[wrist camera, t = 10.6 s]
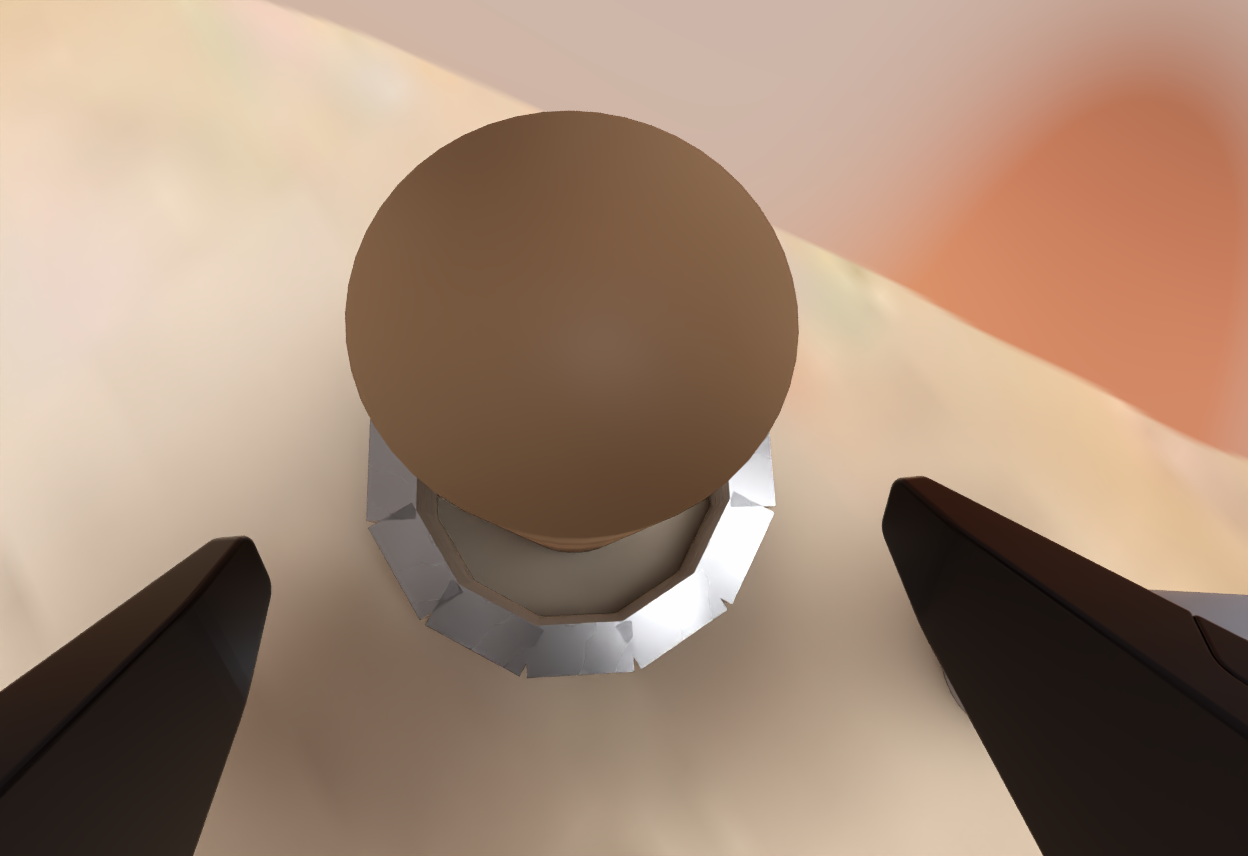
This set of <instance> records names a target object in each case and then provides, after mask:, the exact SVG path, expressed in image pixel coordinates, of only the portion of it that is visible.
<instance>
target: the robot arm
mask: <svg viewBox="0 0 1248 856" xmlns="http://www.w3.org/2000/svg"><path fill="white" fill-rule="evenodd" d="M882 531H883V536H884V539H885V541H886V544H887V546H888V549H889V551H890V554H891V556H892V558H893V561H894V563H895V566H896V568H897V571H898V573H899V576H900V578H901V581H902V583H903V586H904V588H905V591H906V593H907V595H908V598H909V600H910V603H911V605H912V608H913V610H914V613H915V615H916V617H917V619H918V622H919V624H920V626H921V628H922V630H923V632H924V634H925V636H926V638H927V640H928V642H929V644H930V646H931V648H932V650H933V651H934V653H935V655H936V657H937V659H938V661H939V663H940V664H941V666H942V668H943V670H944V672H945V674H946V676H947V678H948V679H949V681H950V683H951V685H952V687H953V689H954V691H955V692H956V694H957V696H958V698H959V700H960V702H961V704H962V705H963V707H964V709H965V711H966V713H967V715H968V717H969V718H970V720H971V722H972V724H973V726H974V728H975V730H976V732H977V733H978V735H979V737H980V739H981V741H982V743H983V745H984V746H985V748H986V750H987V752H988V754H989V756H990V758H991V759H992V761H993V763H994V765H995V767H996V769H997V771H998V772H999V774H1000V776H1001V778H1002V780H1003V782H1004V784H1005V785H1006V787H1007V789H1008V791H1009V793H1010V795H1011V797H1012V799H1013V800H1014V802H1015V804H1016V806H1017V808H1018V810H1019V812H1020V813H1021V815H1022V817H1023V819H1024V821H1025V823H1026V825H1027V826H1028V828H1029V830H1030V832H1031V834H1032V836H1033V838H1034V839H1035V841H1036V843H1037V845H1038V847H1039V849H1040V851H1041V853H1042V854H1043V856H1248V640H1246V639H1244V638H1242V637H1240V636H1238V635H1236V634H1234V633H1232V632H1230V631H1228V630H1226V629H1224V628H1222V627H1220V626H1218V625H1216V624H1214V623H1213V622H1211V621H1209V620H1207V619H1205V618H1203V617H1201V616H1199V615H1194V616H1192V614H1191V612H1190V611H1189V610H1187V609H1185V608H1183V607H1181V606H1179V605H1177V604H1175V603H1173V602H1171V601H1169V600H1167V599H1165V598H1163V597H1161V596H1159V595H1157V594H1155V593H1153V592H1151V591H1149V590H1147V589H1146V588H1144V587H1142V586H1140V585H1138V584H1136V583H1134V582H1132V581H1130V580H1128V579H1126V578H1124V577H1122V576H1120V575H1118V574H1116V573H1114V572H1112V571H1110V570H1108V569H1106V568H1104V567H1102V566H1100V565H1098V564H1096V563H1094V562H1092V561H1090V560H1089V559H1087V558H1085V557H1083V556H1081V555H1079V554H1077V553H1075V552H1073V551H1071V550H1069V549H1067V548H1065V547H1063V546H1061V545H1059V544H1057V543H1055V542H1053V541H1051V540H1049V539H1047V538H1045V537H1043V536H1041V535H1039V534H1037V533H1035V532H1033V531H1032V530H1030V529H1028V528H1026V527H1024V526H1022V525H1020V524H1018V523H1016V522H1014V521H1012V520H1010V519H1008V518H1006V517H1004V516H1002V515H1000V514H998V513H996V512H994V511H992V510H990V509H988V508H986V507H984V506H982V505H980V504H978V503H976V502H975V501H973V500H971V499H969V498H967V497H965V496H963V495H961V494H959V493H957V492H955V491H953V490H951V489H949V488H947V487H945V486H943V485H941V484H939V483H937V482H935V481H933V480H931V479H929V478H927V477H924V476H916V477H904V478H899V479H897V480H895V481H894V483H893V484H892V487H891V490H890V494H889V498H888V501H887V505H886V509H885V512H884V516H883V520H882ZM270 598H271V582H270V578H269V575H268V573H267V571H266V569H265V566H264V564H263V562H262V560H261V557H260V555H259V553H258V551H257V548H256V546H255V544H254V542H253V541H252V540H251V539H250V538H249V537H246V536H233V537H222V538H216V539H213V540H211V541H210V542H208V543H207V544H205V545H204V546H203V547H201V548H200V549H198V550H197V551H196V552H194V553H193V554H191V555H190V556H189V557H187V558H186V559H184V560H183V561H182V562H180V563H179V564H177V565H176V566H175V567H173V568H172V569H170V570H169V571H168V572H166V573H165V574H164V575H162V576H161V577H159V578H158V579H157V580H155V581H154V582H152V583H151V584H150V585H148V586H147V587H145V588H144V589H143V590H141V591H140V592H138V593H137V594H136V595H134V596H133V597H131V598H130V599H129V600H127V601H126V602H124V603H123V604H122V605H120V606H119V607H118V608H116V609H115V610H113V611H112V612H111V613H109V614H108V615H106V616H105V617H104V618H102V619H101V620H99V621H98V622H97V623H95V624H94V625H92V626H91V627H90V628H88V629H87V630H85V631H84V632H83V633H81V634H80V635H78V636H77V637H76V638H74V639H73V640H71V641H70V642H69V643H67V644H66V645H64V646H63V647H62V648H60V649H59V650H57V651H56V652H55V653H53V654H52V655H51V656H49V657H48V658H46V659H45V660H44V661H42V662H41V663H39V664H38V665H37V666H35V667H34V668H32V669H31V670H30V671H28V672H27V673H25V674H24V675H23V676H21V677H20V678H18V679H17V680H16V681H14V682H13V683H11V684H10V685H9V686H7V687H6V688H4V689H3V690H2V691H0V856H193V854H194V852H195V849H196V846H197V843H198V840H199V837H200V834H201V832H202V829H203V826H204V823H205V820H206V817H207V814H208V812H209V809H210V806H211V803H212V800H213V797H214V794H215V792H216V789H217V786H218V783H219V780H220V777H221V774H222V772H223V769H224V766H225V763H226V760H227V757H228V754H229V752H230V749H231V746H232V743H233V740H234V737H235V734H236V732H237V729H238V726H239V723H240V720H241V717H242V714H243V711H244V708H245V705H246V701H247V697H248V694H249V690H250V686H251V682H252V677H253V673H254V668H255V664H256V660H257V655H258V651H259V646H260V642H261V638H262V633H263V629H264V624H265V620H266V616H267V611H268V607H269V602H270Z"/></svg>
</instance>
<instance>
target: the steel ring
mask: <svg viewBox="0 0 1248 856" xmlns="http://www.w3.org/2000/svg"><path fill="white" fill-rule="evenodd" d="M709 500H710V507H709V509H708V511H707V513H706V516H705V518H704V520H703V522H702V524H701V526H700V528H699V530H698V532H697V534H696V536H695V538H694V540H693V542H692V544H691V546H690V548H689V550H688V552H687V555H686V557H685V559H684V561H683V563H682V565H681V567H680V569H679V571H678V572H677V573H675V574H674V575H672V576H671V577H669V578H668V579H666V580H665V581H663V582H662V583H660V584H659V585H657V586H656V587H654V588H653V589H651V590H650V591H648V592H647V593H645V594H644V595H642V596H641V597H639V598H638V599H636V600H635V601H633V602H632V603H630V604H629V605H627V606H626V607H624V608H623V609H621V610H620V611H618V612H617V613H602V614H582V615H563V616H543V617H541V616H539V615H537V614H535V613H533V612H532V611H530V610H528V609H526V608H524V607H522V606H520V605H519V604H517V603H515V602H513V601H511V600H509V599H507V598H506V597H504V596H502V595H500V594H498V593H496V592H494V591H493V590H491V589H489V588H487V587H485V586H483V585H481V584H480V583H478V582H476V581H474V579H473V577H472V576H471V574H470V572H469V570H468V569H467V567H466V565H465V563H464V562H463V560H462V558H461V557H460V555H459V553H458V551H457V550H456V548H455V546H454V545H453V543H452V541H451V539H450V538H449V536H448V534H447V533H446V531H445V529H444V527H443V526H442V524H441V522H440V521H439V519H438V517H437V494H436V493H435V492H434V491H433V490H431V489H430V488H429V487H428V486H427V485H425V484H424V483H423V482H422V481H420V480H419V479H418V478H417V477H416V476H414V475H413V474H412V473H411V472H410V471H409V470H408V469H407V467H406V466H405V465H404V464H403V463H402V462H401V461H400V460H399V459H398V458H397V457H396V456H395V454H394V453H393V452H392V451H391V450H390V448H389V447H388V445H387V444H386V442H385V441H384V440H383V438H382V437H381V435H380V434H379V432H378V431H377V429H376V428H375V427H374V425H373V423H372V421H371V419H370V439H369V465H368V492H367V519H366V521H369V522H374V523H376V524H374V525H373V526H371V527H369V528H368V529H369V531H370V532H371V534H372V536H373V538H374V539H375V541H376V543H377V545H378V547H379V548H380V550H381V552H382V554H383V555H384V557H385V559H386V561H387V563H388V564H389V566H390V568H391V570H392V571H393V573H394V575H395V577H396V578H397V580H398V582H399V584H400V586H401V587H402V589H403V591H404V593H405V594H406V596H407V598H408V600H409V602H410V603H411V605H412V607H413V609H414V610H415V612H416V614H417V616H418V617H419V619H420V620H421V619H423V618H426V617H428V616H430V618H429V619H428V621H427V623H426V626H428V627H430V628H431V629H433V630H435V631H437V632H439V633H441V634H442V635H444V636H446V637H448V638H450V639H452V640H453V641H455V642H457V643H459V644H461V645H463V646H465V647H466V648H468V649H470V650H472V651H474V652H476V653H477V654H479V655H481V656H483V657H485V658H487V659H489V660H490V661H492V662H494V663H496V664H498V665H500V666H501V667H503V668H505V669H507V670H509V671H511V672H512V673H514V674H516V675H518V676H520V675H521V673H522V671H523V669H524V667H525V665H526V663H527V678H536V677H553V676H570V675H587V674H604V673H621V672H634V658H635V660H636V661H637V663H638V665H639V666H640V668H641V669H642V668H644V667H645V666H647V665H648V664H650V663H651V662H653V661H654V660H655V659H657V658H658V657H660V656H661V655H663V654H664V653H666V652H667V651H669V650H670V649H671V648H673V647H674V646H676V645H677V644H679V643H680V642H682V641H683V640H684V639H686V638H687V637H689V636H690V635H692V634H693V633H695V632H696V631H698V630H699V629H700V628H702V627H703V626H705V625H706V624H708V623H709V622H711V621H712V620H713V619H715V618H716V617H718V616H719V615H721V614H722V613H724V612H725V611H726V610H728V609H727V608H726V606H725V605H724V603H723V602H726V603H730V604H733V601H734V599H735V597H736V595H737V593H738V591H739V588H740V586H741V584H742V582H743V580H744V578H745V575H746V573H747V571H748V569H749V567H750V565H751V562H752V560H753V558H754V556H755V554H756V552H757V549H758V547H759V545H760V543H761V541H762V539H763V536H764V534H765V532H766V530H767V528H768V526H769V523H770V521H771V519H772V517H773V515H774V512H773V511H771V510H769V509H767V508H769V507H773V506H776V504H775V492H774V481H773V470H772V459H771V448H770V436H769V433H768V435H767V437H766V438H765V440H764V441H763V442H762V444H761V445H760V446H759V448H758V449H757V450H756V451H755V453H754V454H753V455H752V457H751V458H750V459H749V461H748V462H747V463H746V464H745V465H744V466H743V467H742V468H741V469H740V470H739V471H738V472H737V473H736V474H735V475H734V476H733V477H732V478H731V479H730V480H729V481H728V482H727V483H725V484H724V485H723V486H721V487H720V488H719V489H717V490H716V491H715V492H714V493H712V494H711V495H710V496H709ZM722 601H723V602H722Z"/></svg>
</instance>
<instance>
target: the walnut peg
mask: <svg viewBox="0 0 1248 856" xmlns="http://www.w3.org/2000/svg"><path fill="white" fill-rule="evenodd" d="M345 322H346V344H347V350H348V355H349V361H350V366H351V371H352V374H353V378H354V381H355V384H356V387H357V390H358V393H359V396H360V399H361V401H362V403H363V405H364V407H365V409H366V411H367V413H368V415H369V417H370V419H371V421H372V423H373V425H374V427H375V428H376V429H377V431H378V432H379V434H380V435H381V437H382V438H383V440H384V441H385V442H386V444H387V445H388V447H389V448H390V450H391V451H392V452H393V453H394V454H395V456H396V457H397V458H398V459H399V460H400V461H401V462H402V463H403V464H404V465H405V466H406V467H407V469H408V470H409V471H410V472H411V473H412V474H413V475H414V476H416V477H417V478H418V479H419V480H420V481H422V482H423V483H424V484H425V485H427V486H428V487H429V488H430V489H431V490H433V491H434V492H435V493H436V494H438V495H439V496H441V497H443V498H444V499H446V500H448V501H449V502H451V503H452V504H454V505H456V506H457V507H459V508H461V509H462V510H464V511H466V512H468V513H471V514H473V515H475V516H477V517H480V518H482V519H484V520H486V521H489V522H491V523H493V524H495V525H498V526H500V527H502V528H504V529H507V530H509V531H511V532H513V533H516V534H518V535H520V536H522V537H525V538H527V539H529V540H532V541H534V542H536V543H538V544H541V545H543V546H545V547H547V548H550V549H554V550H557V551H563V552H586V551H591V550H595V549H598V548H601V547H603V546H606V545H608V544H610V543H613V542H615V541H617V540H620V539H622V538H624V537H627V536H629V535H631V534H634V533H636V532H638V531H641V530H643V529H645V528H648V527H650V526H652V525H655V524H657V523H659V522H662V521H664V520H666V519H669V518H671V517H673V516H676V515H678V514H680V513H682V512H683V511H685V510H687V509H689V508H690V507H692V506H694V505H696V504H697V503H699V502H701V501H703V500H704V499H706V498H707V497H708V496H710V495H711V494H712V493H714V492H715V491H716V490H717V489H719V488H720V487H721V486H723V485H724V484H725V483H727V482H728V481H729V480H730V479H731V478H732V477H733V476H734V475H735V474H736V473H737V472H738V471H739V470H740V469H741V468H742V467H743V466H744V465H745V464H746V463H747V462H748V461H749V459H750V458H751V457H752V455H753V454H754V453H755V451H756V450H757V449H758V448H759V446H760V445H761V444H762V442H763V441H764V440H765V438H766V437H767V435H768V433H769V431H770V429H771V428H772V426H773V424H774V422H775V420H776V419H777V417H778V415H779V413H780V411H781V408H782V406H783V403H784V400H785V398H786V395H787V393H788V390H789V387H790V384H791V379H792V375H793V371H794V367H795V362H796V356H797V345H798V334H799V329H798V306H797V300H796V294H795V289H794V283H793V278H792V275H791V272H790V269H789V265H788V262H787V259H786V256H785V253H784V251H783V249H782V247H781V244H780V242H779V240H778V238H777V236H776V234H775V232H774V229H773V228H772V226H771V224H770V223H769V222H768V220H767V218H766V217H765V215H764V213H763V212H762V211H761V209H760V207H759V206H758V204H757V203H756V202H755V201H754V200H753V198H752V197H751V196H750V195H749V194H748V192H747V191H746V190H745V189H744V187H743V186H742V185H741V184H740V183H739V182H738V181H737V180H736V179H734V177H733V176H732V175H730V174H729V173H728V172H727V171H726V170H725V169H724V168H723V167H722V166H721V165H719V164H718V163H717V162H715V161H714V160H713V159H711V158H710V157H709V156H707V155H706V154H705V153H703V152H702V151H701V150H699V149H697V148H696V147H694V146H692V145H690V144H689V143H687V142H685V141H683V140H682V139H680V138H678V137H677V136H675V135H672V134H670V133H668V132H665V131H663V130H661V129H658V128H656V127H654V126H652V125H648V124H645V123H642V122H638V121H635V120H632V119H628V118H625V117H620V116H613V115H608V114H603V113H596V112H582V111H557V112H556V111H555V112H541V113H535V114H529V115H523V116H517V117H513V118H509V119H506V120H502V121H499V122H495V123H492V124H489V125H486V126H484V127H482V128H479V129H477V130H475V131H472V132H470V133H468V134H465V135H463V136H461V137H459V138H458V139H456V140H454V141H453V142H451V143H449V144H447V145H446V146H444V147H442V148H440V149H439V150H438V151H436V152H435V153H434V154H432V155H431V156H430V157H428V158H427V159H426V160H424V161H423V162H422V163H420V164H419V165H418V166H417V167H416V168H415V169H414V170H413V171H412V172H411V173H410V174H408V175H407V176H406V177H405V178H404V179H403V180H402V181H401V182H400V183H399V184H398V185H397V187H396V188H395V189H394V190H393V192H392V193H391V194H390V196H389V197H388V198H387V199H386V201H385V202H384V203H383V204H382V206H381V207H380V209H379V210H378V212H377V214H376V215H375V217H374V219H373V221H372V222H371V224H370V226H369V227H368V229H367V231H366V233H365V235H364V238H363V240H362V243H361V245H360V248H359V250H358V252H357V255H356V257H355V261H354V265H353V269H352V273H351V277H350V281H349V284H348V293H347V302H346V311H345Z"/></svg>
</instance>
